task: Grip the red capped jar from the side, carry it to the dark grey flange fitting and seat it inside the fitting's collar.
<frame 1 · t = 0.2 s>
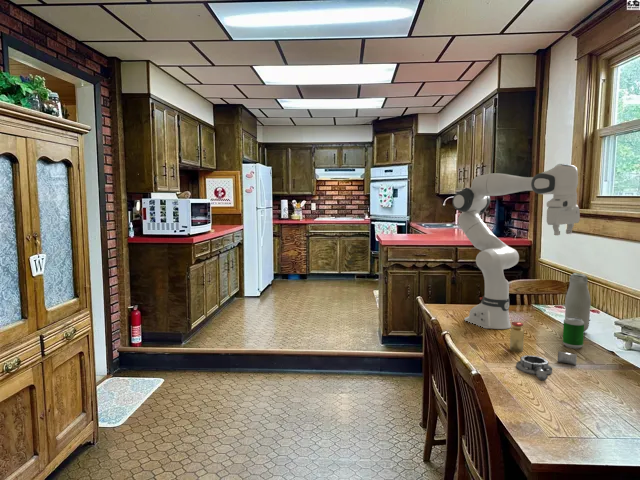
hand: (562, 234, 184), 48 cm above the table, tool pointing down, fingers open, 8 cm apart
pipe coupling: (566, 363, 165), on the table
soda can: (572, 346, 183), on the table
red capped jar: (516, 350, 179), on the table
flange fitting: (533, 368, 160), on the table
grey bottle: (576, 331, 203), on the table
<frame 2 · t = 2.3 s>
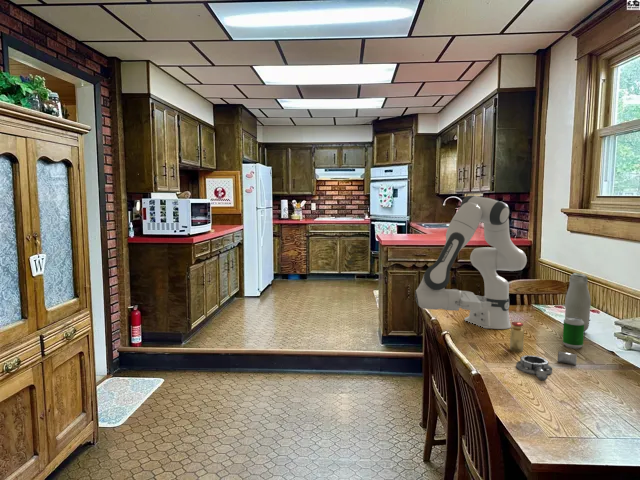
hand: (488, 301, 179), 20 cm above the table, tool horizontal, fingers open, 8 cm apart
nothing on the table moved.
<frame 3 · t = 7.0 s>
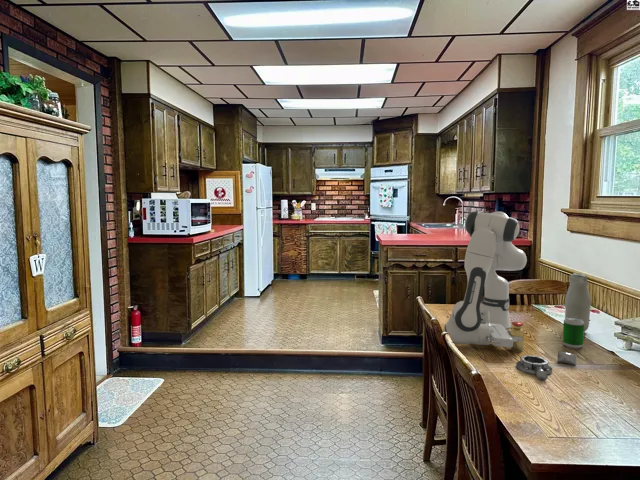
hand: (519, 336, 178), 6 cm above the table, tool horizontal, fingers closed on red capped jar, 5 cm apart
red capped jar: (516, 350, 179), on the table, touching gripper
everything else where it was.
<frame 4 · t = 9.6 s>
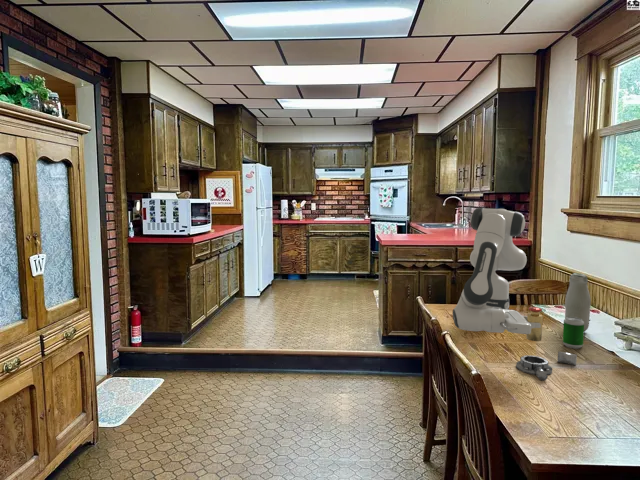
hand: (537, 322, 158), 18 cm above the table, tool horizontal, fingers closed on red capped jar, 5 cm apart
red capped jar: (533, 338, 159), point 11 cm above the table, touching gripper
everything else where it was.
when the fingers open (8 cm above the table, at t = 12.2 s): red capped jar drops 1 cm, resting on flange fitting.
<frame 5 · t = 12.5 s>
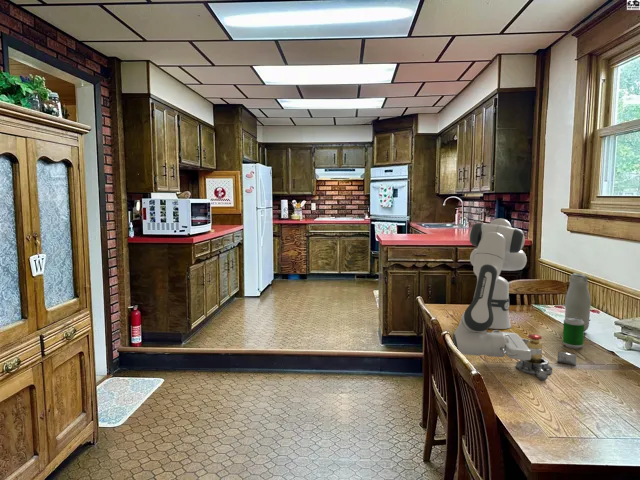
hand: (537, 347, 159), 8 cm above the table, tool horizontal, fingers open, 8 cm apart
red capped jar: (533, 366, 160), point 1 cm above the table, touching flange fitting
everything else where it was.
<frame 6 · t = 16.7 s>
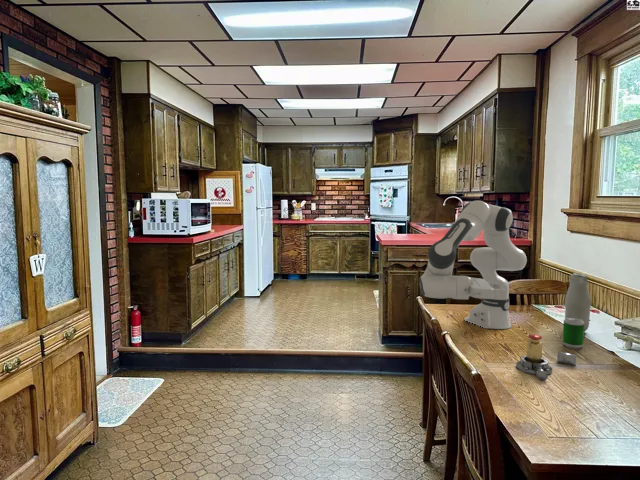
hand: (502, 288, 159), 30 cm above the table, tool horizontal, fingers open, 8 cm apart
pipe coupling: (566, 362, 165), on the table, tilted 14°
everything else where it was.
at the end: red capped jar 0.1 cm off-centre on the flange fitting, point 1.0 cm above the flange fitting's base; red capped jar tilted 0°; the gripper is holding nothing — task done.
